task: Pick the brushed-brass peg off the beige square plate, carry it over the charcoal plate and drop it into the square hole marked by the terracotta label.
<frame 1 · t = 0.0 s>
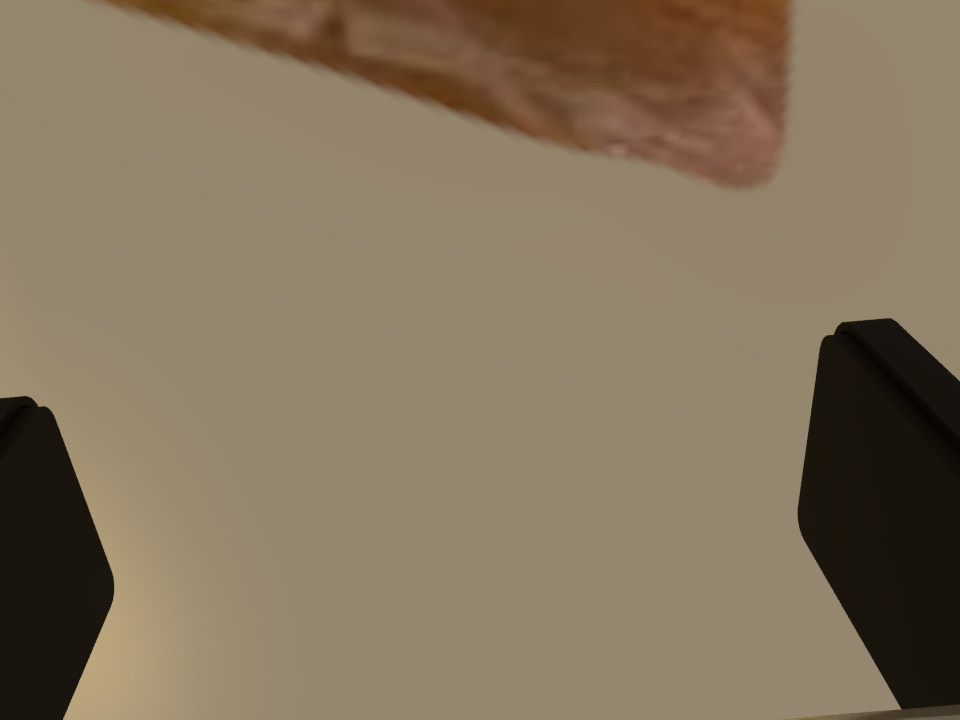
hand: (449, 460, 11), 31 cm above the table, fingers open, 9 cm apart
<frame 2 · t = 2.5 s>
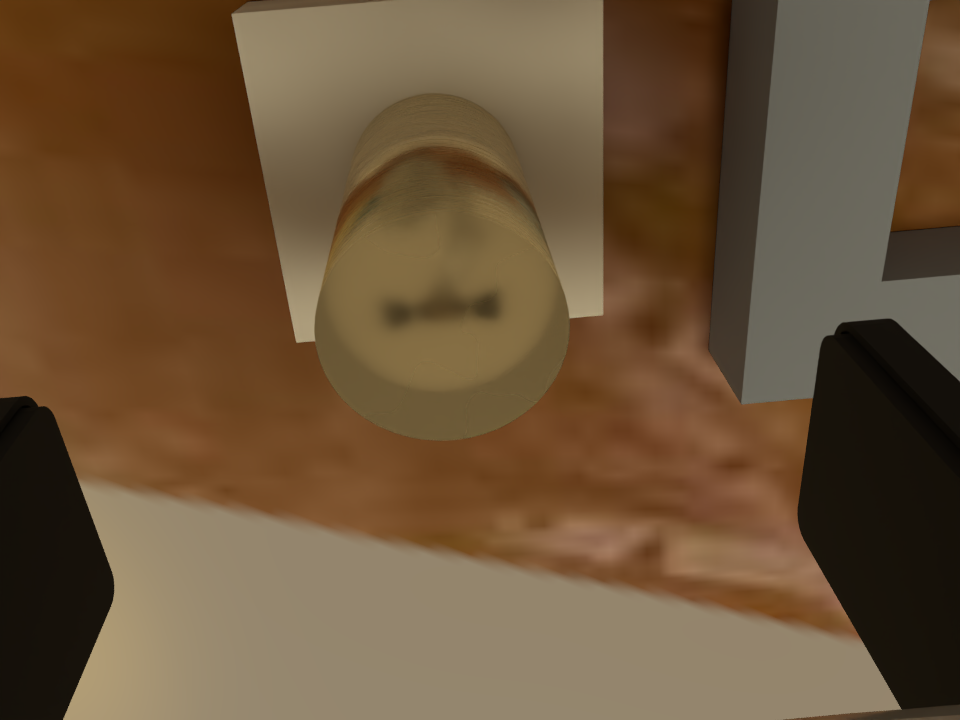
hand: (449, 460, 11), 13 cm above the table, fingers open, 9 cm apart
brass peg: (435, 179, 21), point 2 cm above the table, touching beige square plate
beige square plate: (434, 155, 22), on the table
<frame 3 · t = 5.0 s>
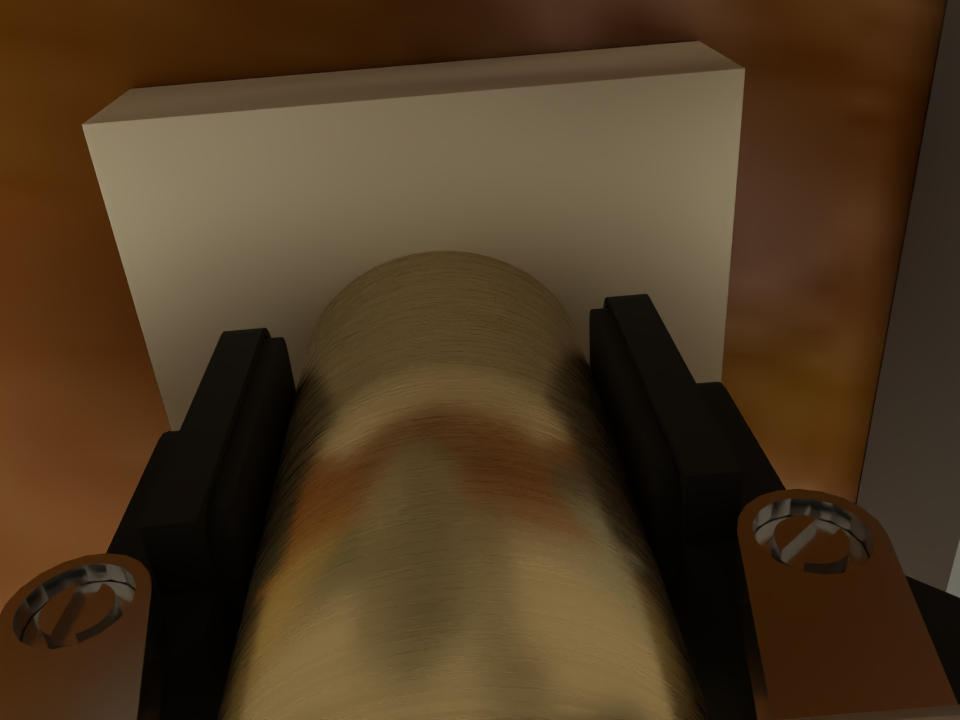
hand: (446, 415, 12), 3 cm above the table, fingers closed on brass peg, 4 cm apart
brass peg: (445, 381, 12), point 2 cm above the table, touching gripper, beige square plate
beige square plate: (442, 319, 14), on the table
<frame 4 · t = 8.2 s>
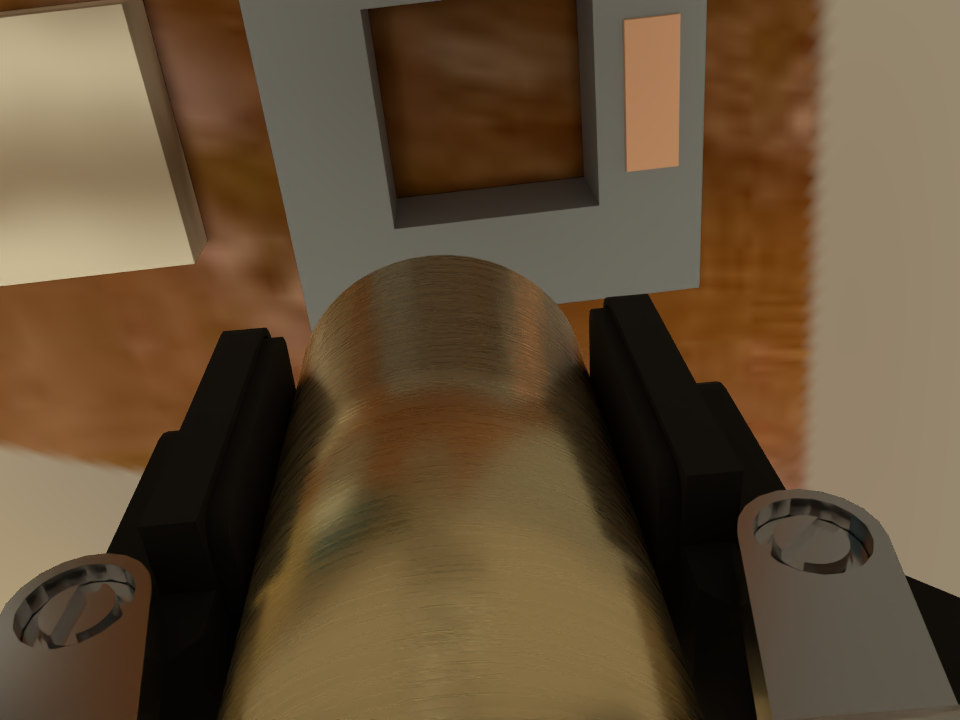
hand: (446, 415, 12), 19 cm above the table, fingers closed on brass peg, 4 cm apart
brass peg: (443, 385, 12), point 18 cm above the table, touching gripper
beige square plate: (54, 140, 28), on the table
hole plate: (481, 91, 28), on the table
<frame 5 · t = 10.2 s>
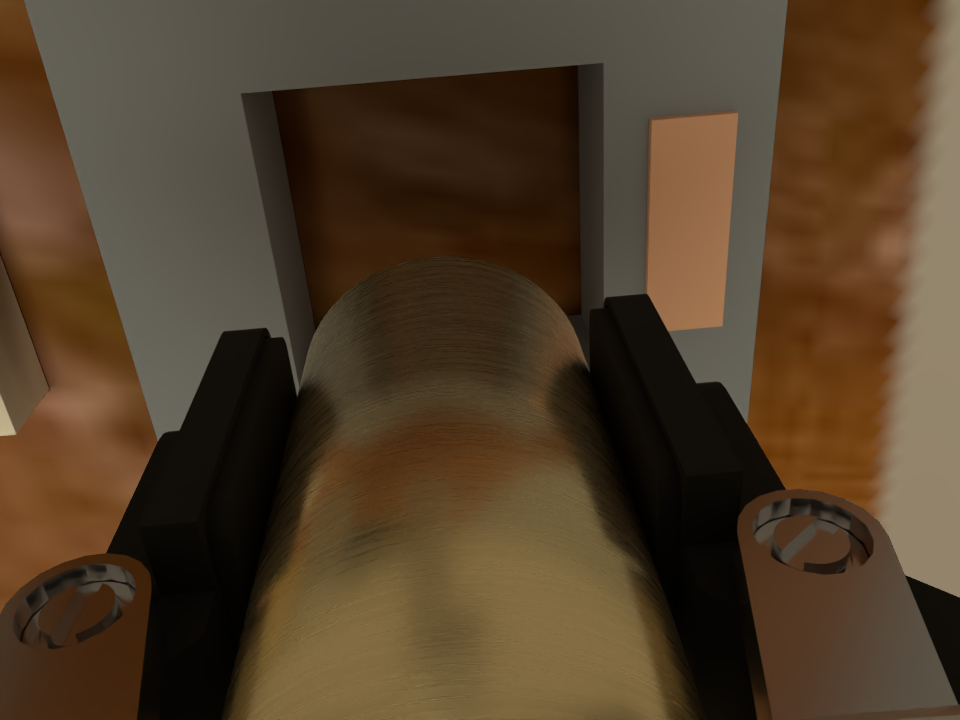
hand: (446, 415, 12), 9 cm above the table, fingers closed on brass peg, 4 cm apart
brass peg: (445, 386, 12), point 8 cm above the table, touching gripper
hole plate: (437, 198, 20), on the table
when the fingers open (5 cm above the table, at t = 11.6 s): brass peg drops 4 cm, resting in hole plate.
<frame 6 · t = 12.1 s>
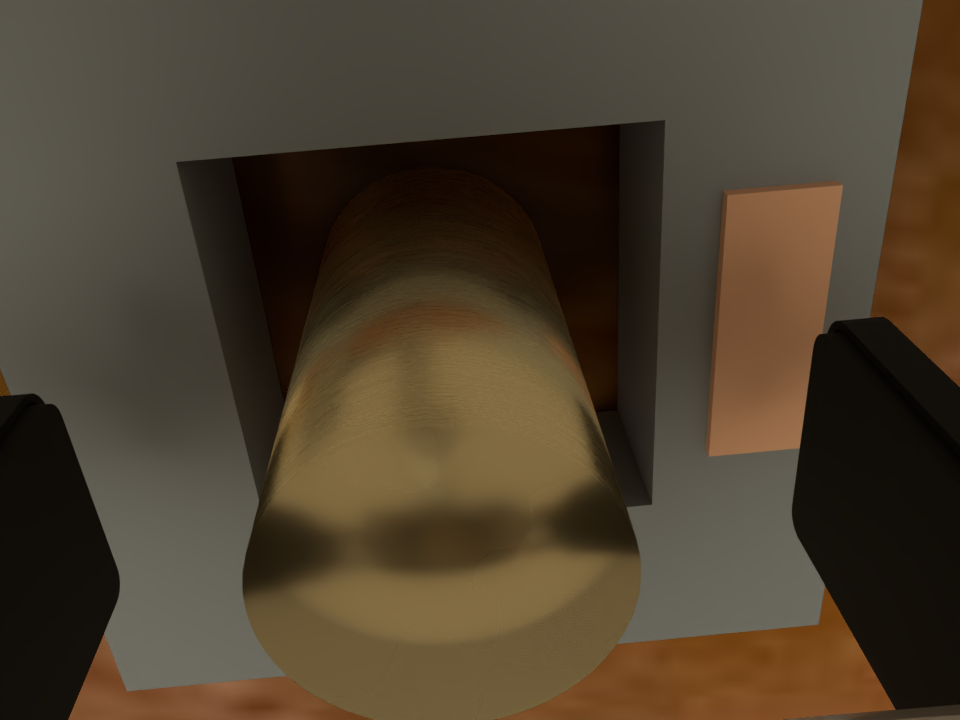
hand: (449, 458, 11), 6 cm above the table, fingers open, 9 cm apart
brass peg: (434, 275, 16), resting in hole plate
hole plate: (440, 275, 16), on the table
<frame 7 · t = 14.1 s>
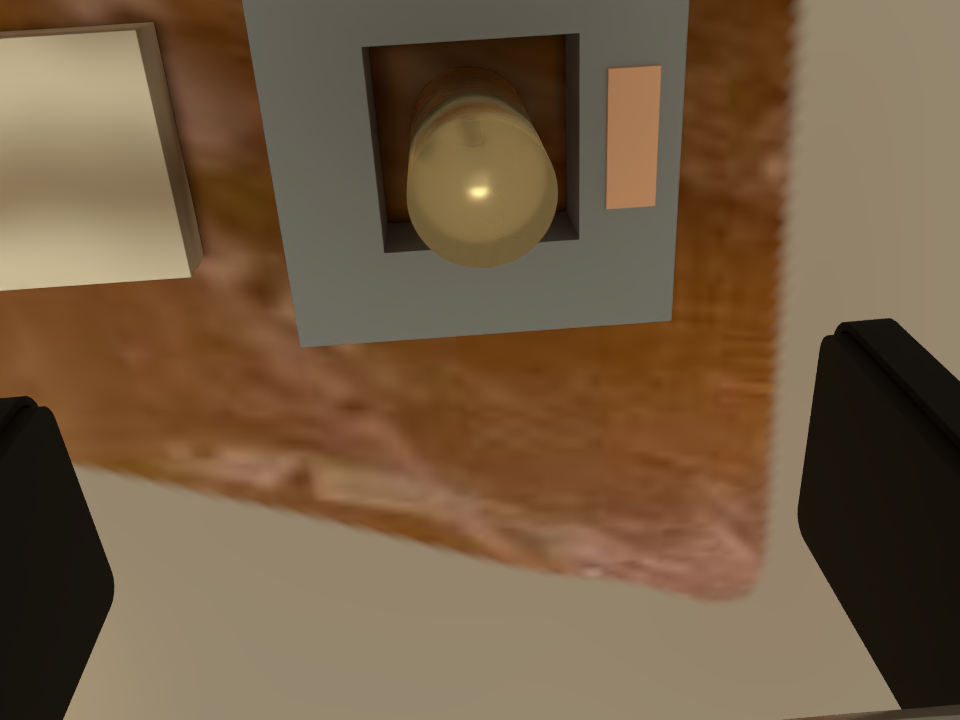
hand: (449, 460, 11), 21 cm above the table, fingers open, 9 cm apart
brass peg: (469, 127, 30), resting in hole plate
beige square plate: (62, 154, 30), on the table
hole plate: (472, 126, 30), on the table
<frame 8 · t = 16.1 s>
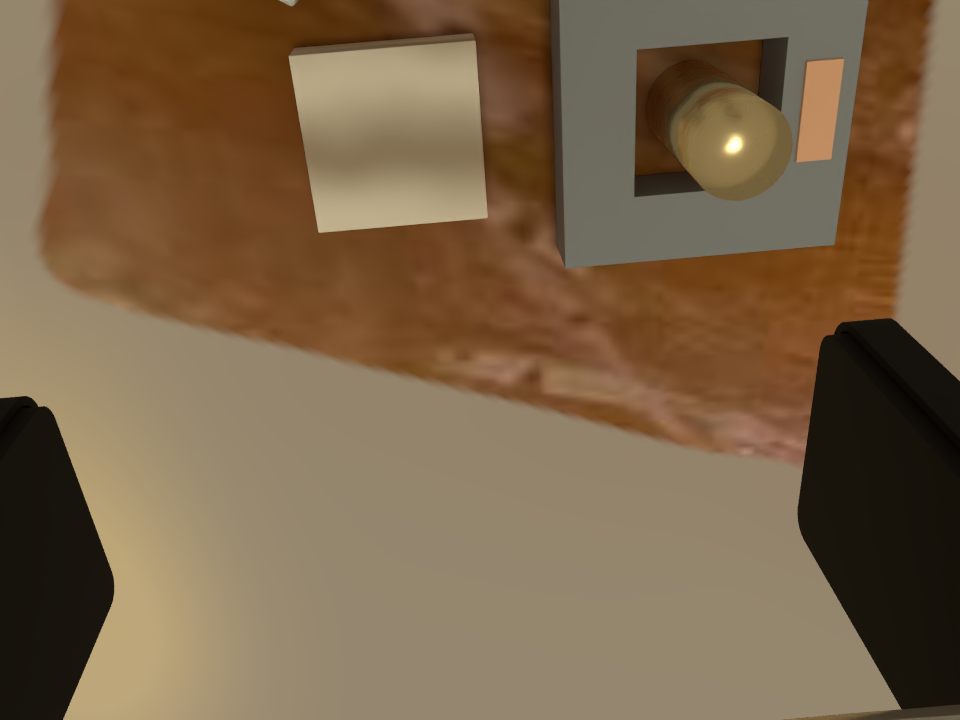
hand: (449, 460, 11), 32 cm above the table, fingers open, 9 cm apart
brass peg: (687, 104, 41), resting in hole plate
beige square plate: (394, 129, 41), on the table
hole plate: (690, 104, 41), on the table
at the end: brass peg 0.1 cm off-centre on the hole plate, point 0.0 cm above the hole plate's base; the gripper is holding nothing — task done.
